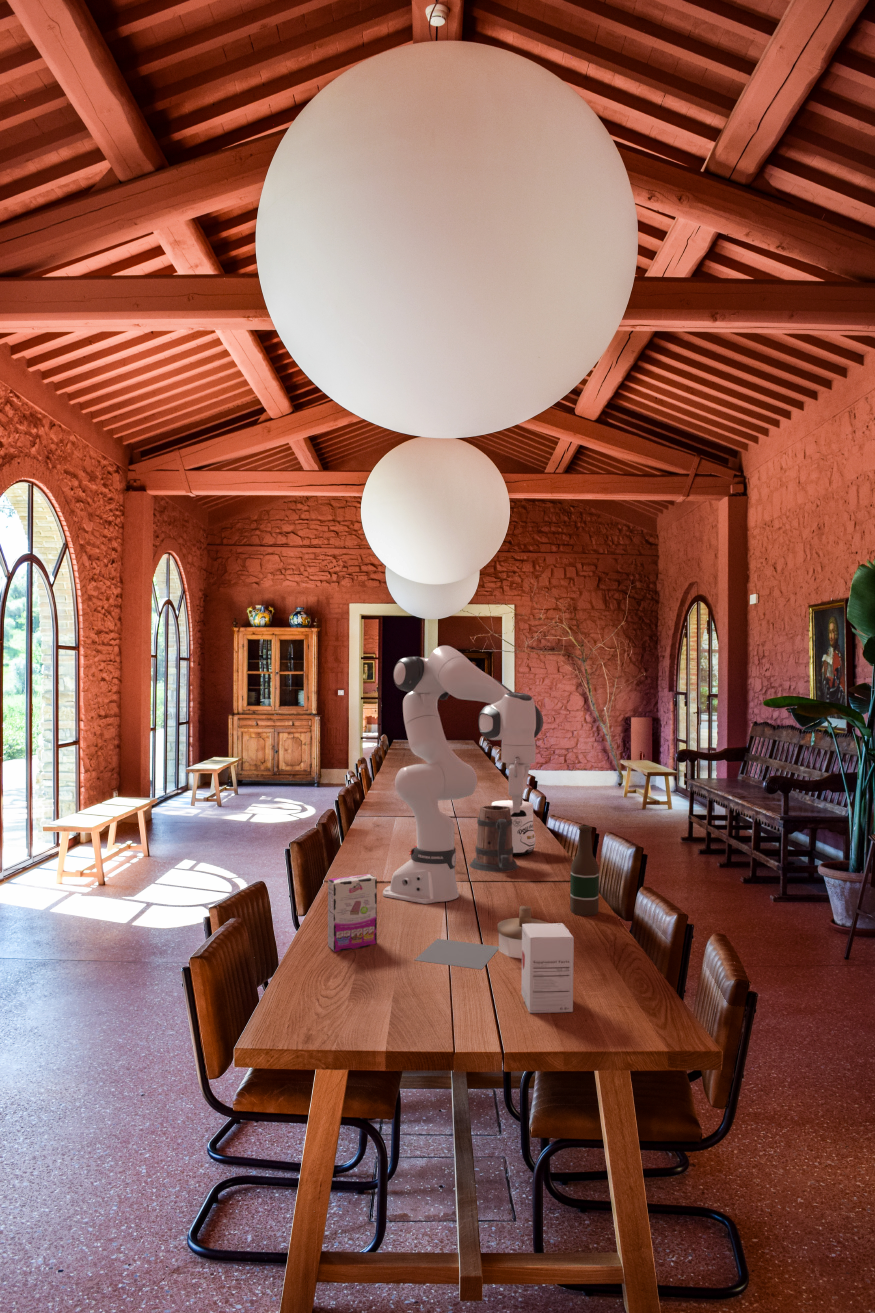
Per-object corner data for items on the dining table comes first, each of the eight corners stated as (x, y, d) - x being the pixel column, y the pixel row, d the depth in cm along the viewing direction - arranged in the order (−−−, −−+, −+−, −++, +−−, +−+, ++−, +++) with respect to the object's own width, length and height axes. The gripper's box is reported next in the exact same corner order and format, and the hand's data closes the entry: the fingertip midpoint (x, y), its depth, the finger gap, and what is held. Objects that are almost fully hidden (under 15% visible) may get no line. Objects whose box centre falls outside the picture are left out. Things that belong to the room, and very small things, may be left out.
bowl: (494, 957, 192) (494, 935, 192) (507, 942, 203) (507, 921, 203) (543, 963, 189) (543, 941, 189) (553, 947, 199) (553, 927, 200)
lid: (493, 937, 191) (493, 913, 191) (502, 920, 204) (502, 898, 204) (549, 942, 188) (549, 917, 188) (555, 925, 201) (555, 902, 201)
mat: (414, 962, 188) (414, 960, 188) (437, 941, 203) (437, 938, 203) (481, 972, 183) (481, 969, 183) (500, 949, 198) (500, 946, 198)
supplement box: (520, 995, 170) (521, 922, 170) (562, 995, 171) (563, 922, 171) (528, 1014, 161) (529, 937, 161) (573, 1013, 162) (574, 936, 162)
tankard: (464, 860, 289) (465, 803, 289) (511, 859, 292) (512, 802, 292) (480, 877, 266) (480, 815, 266) (530, 876, 269) (531, 814, 269)
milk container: (537, 858, 294) (538, 807, 294) (489, 857, 294) (489, 807, 294) (532, 848, 311) (533, 800, 312) (486, 847, 311) (487, 799, 312)
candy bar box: (369, 939, 204) (370, 873, 204) (377, 946, 199) (378, 877, 199) (326, 946, 198) (327, 877, 199) (333, 953, 194) (334, 882, 194)
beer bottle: (598, 917, 225) (599, 829, 225) (569, 915, 226) (570, 827, 226) (598, 909, 232) (599, 824, 233) (570, 907, 234) (571, 822, 234)
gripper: (528, 760, 203) (528, 816, 203) (532, 752, 223) (531, 803, 223) (503, 759, 204) (502, 815, 204) (508, 751, 224) (508, 802, 224)
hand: (517, 809), depth 213 cm, fingers open, 8 cm apart
